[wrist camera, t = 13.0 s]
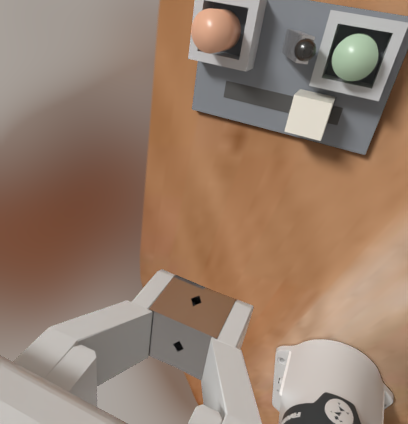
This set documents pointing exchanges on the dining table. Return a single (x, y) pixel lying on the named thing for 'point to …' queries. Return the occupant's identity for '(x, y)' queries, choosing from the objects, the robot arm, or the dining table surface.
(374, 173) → the dining table surface
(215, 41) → the terracotta button
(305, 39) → the ball-tipped lever
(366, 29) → the panel
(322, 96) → the slider knob
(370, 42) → the green button
